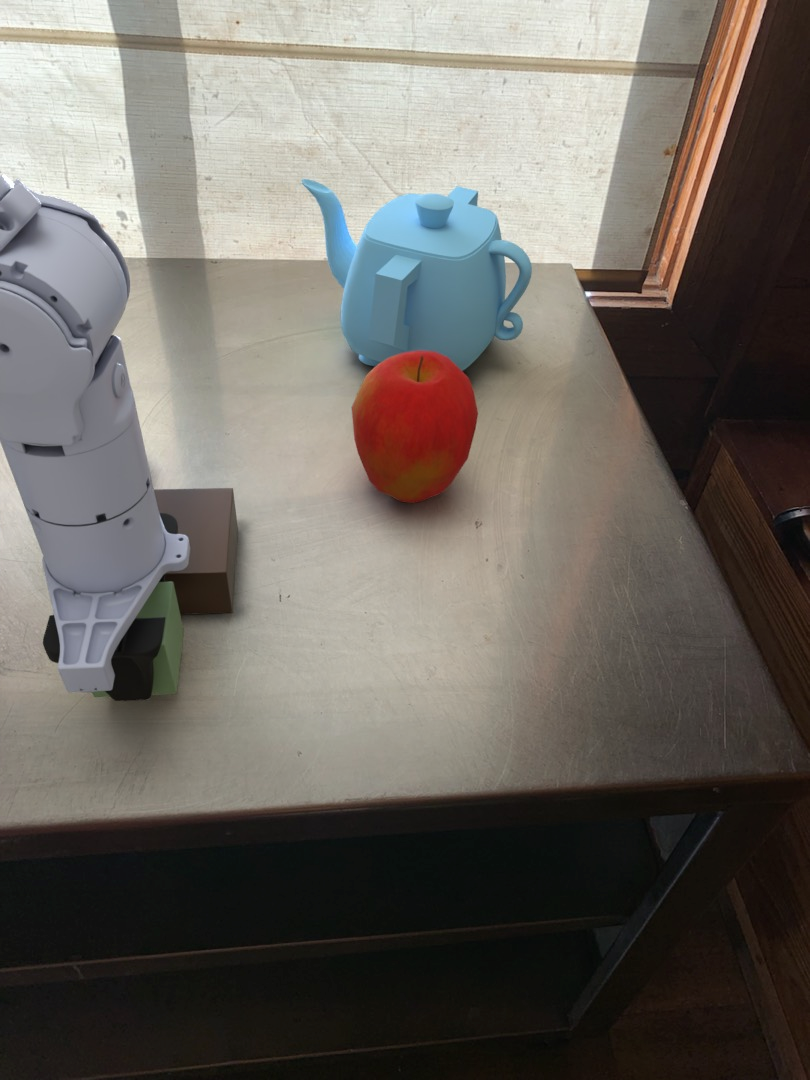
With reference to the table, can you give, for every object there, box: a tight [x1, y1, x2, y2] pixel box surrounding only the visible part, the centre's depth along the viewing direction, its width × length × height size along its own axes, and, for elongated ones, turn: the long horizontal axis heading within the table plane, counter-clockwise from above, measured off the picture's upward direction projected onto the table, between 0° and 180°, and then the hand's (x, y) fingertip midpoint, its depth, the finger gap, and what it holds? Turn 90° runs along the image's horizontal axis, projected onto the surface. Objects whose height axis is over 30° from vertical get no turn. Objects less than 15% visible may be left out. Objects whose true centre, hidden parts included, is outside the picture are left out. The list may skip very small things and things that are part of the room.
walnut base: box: [154, 487, 239, 616], centre depth 53 cm, size 8×8×4 cm
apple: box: [351, 351, 479, 504], centre depth 58 cm, size 9×9×12 cm
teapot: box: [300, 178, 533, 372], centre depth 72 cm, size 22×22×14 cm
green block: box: [91, 582, 185, 698], centre depth 45 cm, size 5×5×5 cm
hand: (138, 658), depth 46 cm, fingers closed on green block, 4 cm apart
